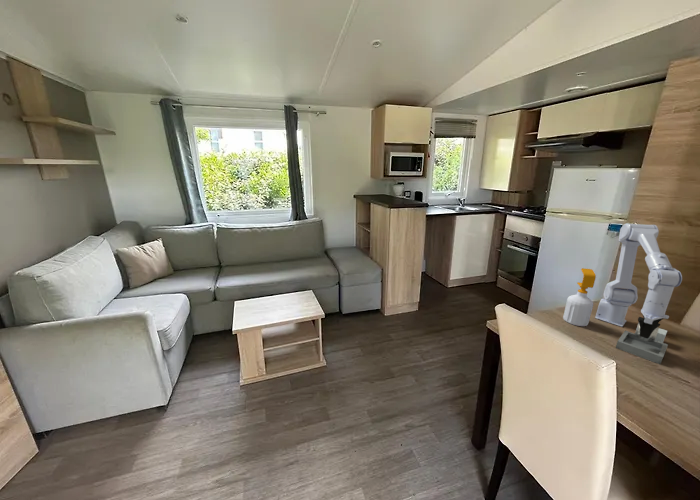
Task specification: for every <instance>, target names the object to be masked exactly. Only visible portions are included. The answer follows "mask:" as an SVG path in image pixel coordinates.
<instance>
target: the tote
mask: <svg viewBox="0 0 700 500" xmlns="http://www.w3.org/2000/svg"><path fill="white" fill-rule="evenodd" d="M668 346H669V344H667V343H664V342H663V343H662V342H659V341H656V340H655V341H654V342H648V341H644V340H641V339H639V338H637V337H636V336H635V333H634V332H631V331H629V330H623V333H622V334H621V336H620V337H619V338H618V340H617V342H616V345H615V349H618V350H620V351H623V352H626V353H628V354H630V355H634V356H636V357H639V358H641V359H645V360H648V361H650V362H652V363H655V364H658V365H662V361H663V360H664V359H663V358H664V356H665V355H666V351H667V349H668Z"/></svg>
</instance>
